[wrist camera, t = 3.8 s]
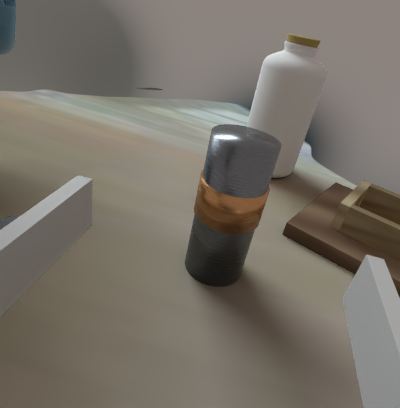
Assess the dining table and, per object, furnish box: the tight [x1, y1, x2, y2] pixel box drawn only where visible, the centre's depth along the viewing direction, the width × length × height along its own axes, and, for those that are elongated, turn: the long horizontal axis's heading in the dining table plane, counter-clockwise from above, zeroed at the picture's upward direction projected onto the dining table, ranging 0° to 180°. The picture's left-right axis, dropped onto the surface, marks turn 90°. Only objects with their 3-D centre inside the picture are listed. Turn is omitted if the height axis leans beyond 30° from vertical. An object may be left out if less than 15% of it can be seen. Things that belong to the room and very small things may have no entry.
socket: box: [283, 181, 400, 298], centre depth 37 cm, size 16×16×4 cm
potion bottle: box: [247, 34, 327, 178], centre depth 46 cm, size 8×8×18 cm
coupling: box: [185, 124, 282, 286], centre depth 27 cm, size 5×5×12 cm
